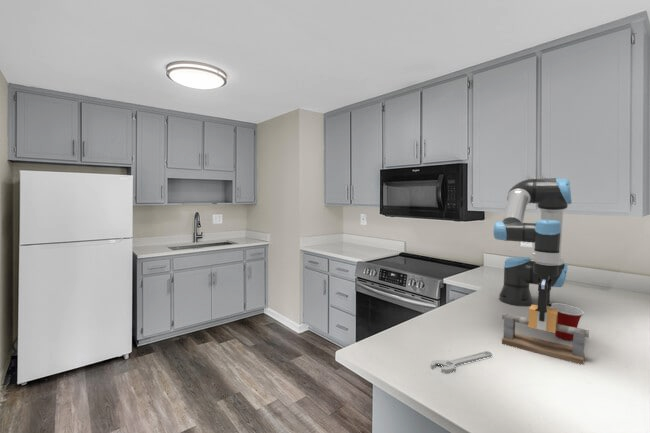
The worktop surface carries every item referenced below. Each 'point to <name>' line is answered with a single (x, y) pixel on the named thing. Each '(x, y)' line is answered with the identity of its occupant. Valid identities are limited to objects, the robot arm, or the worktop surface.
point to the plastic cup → (567, 318)
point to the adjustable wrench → (459, 361)
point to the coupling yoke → (551, 318)
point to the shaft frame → (544, 346)
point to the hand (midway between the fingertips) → (542, 326)
